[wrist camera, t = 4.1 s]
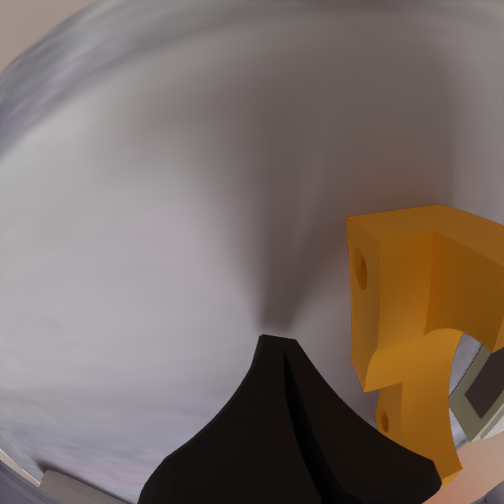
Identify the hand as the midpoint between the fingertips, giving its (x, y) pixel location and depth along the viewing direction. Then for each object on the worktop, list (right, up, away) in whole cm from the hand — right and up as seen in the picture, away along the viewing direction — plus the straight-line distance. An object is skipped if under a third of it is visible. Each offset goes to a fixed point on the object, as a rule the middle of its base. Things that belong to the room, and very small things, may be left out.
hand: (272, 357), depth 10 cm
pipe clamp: (+6, 0, +2) cm, 6 cm away
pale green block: (+15, -3, +2) cm, 16 cm away
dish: (-24, -36, +14) cm, 46 cm away
